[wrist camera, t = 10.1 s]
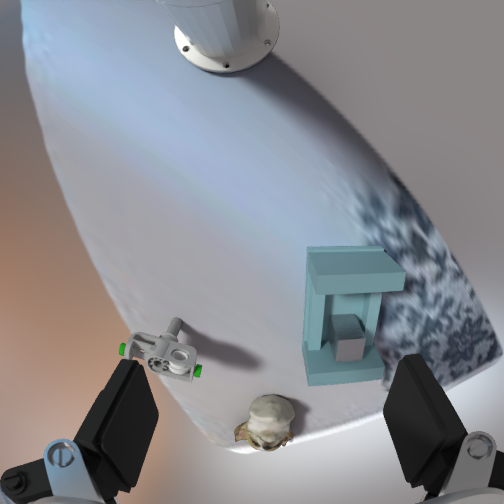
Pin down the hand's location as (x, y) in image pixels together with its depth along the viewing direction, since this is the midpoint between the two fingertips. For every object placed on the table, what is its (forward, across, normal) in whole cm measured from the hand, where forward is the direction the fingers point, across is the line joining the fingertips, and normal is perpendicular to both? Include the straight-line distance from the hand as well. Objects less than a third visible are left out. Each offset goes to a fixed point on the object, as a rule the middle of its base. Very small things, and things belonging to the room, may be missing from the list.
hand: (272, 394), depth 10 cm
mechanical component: (+28, +13, +15) cm, 35 cm away
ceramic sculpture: (+29, 0, +35) cm, 45 cm away
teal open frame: (+28, -10, +12) cm, 32 cm away
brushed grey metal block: (+27, -10, +15) cm, 33 cm away
